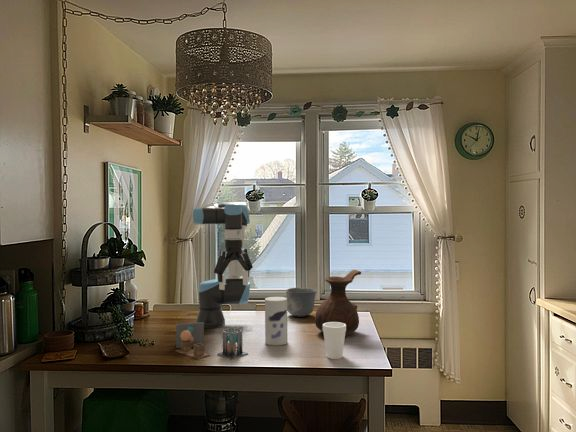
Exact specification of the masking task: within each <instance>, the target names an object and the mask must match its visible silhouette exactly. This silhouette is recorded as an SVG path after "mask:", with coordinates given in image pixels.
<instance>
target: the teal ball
mask: <svg viewBox="0 0 576 432" xmlns="http://www.w3.org/2000/svg"><path fill="white" fill-rule="evenodd" d="M231 333H236V332H235V331H234V332H232V331H231ZM229 342H230V343H231V336H230V334H228V343H229ZM233 344H237V334H233Z"/></svg>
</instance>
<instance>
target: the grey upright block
mask: <svg viewBox="0 0 576 432" xmlns="http://www.w3.org/2000/svg"><path fill="white" fill-rule="evenodd" d="M185 330H188V331H190V332H191V339H190V340H191V348H194V344H198V343H201V344H204V345H205V328H204V322H202V323H196V322H188V323H186V322H185V323H175V348H177V349H179V348H180V349H181V341H182V339H181V337H180V335H181V333H182V332H183V331H185Z"/></svg>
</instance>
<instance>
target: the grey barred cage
mask: <svg viewBox="0 0 576 432" xmlns="http://www.w3.org/2000/svg"><path fill="white" fill-rule="evenodd" d="M229 331H231V332H229ZM235 331H236V332H235ZM232 332H235V333H232ZM221 333H222V351H220V352H219V353H217V354H216V355H217V356H220V357H222V358H226V359H229V360H234V359H237V358H241V357H244V356H247V355H249V353H248V352H245V351H243V329H241V328H236V327H235V328H233V327H232V328H225V329H223V330H222V332H221ZM229 334H230V336H231V353H228V352H227V343H229V341H228V335H229ZM233 334H237V343H236V345H237V349H236V351H235V352H234V353H233Z"/></svg>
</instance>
